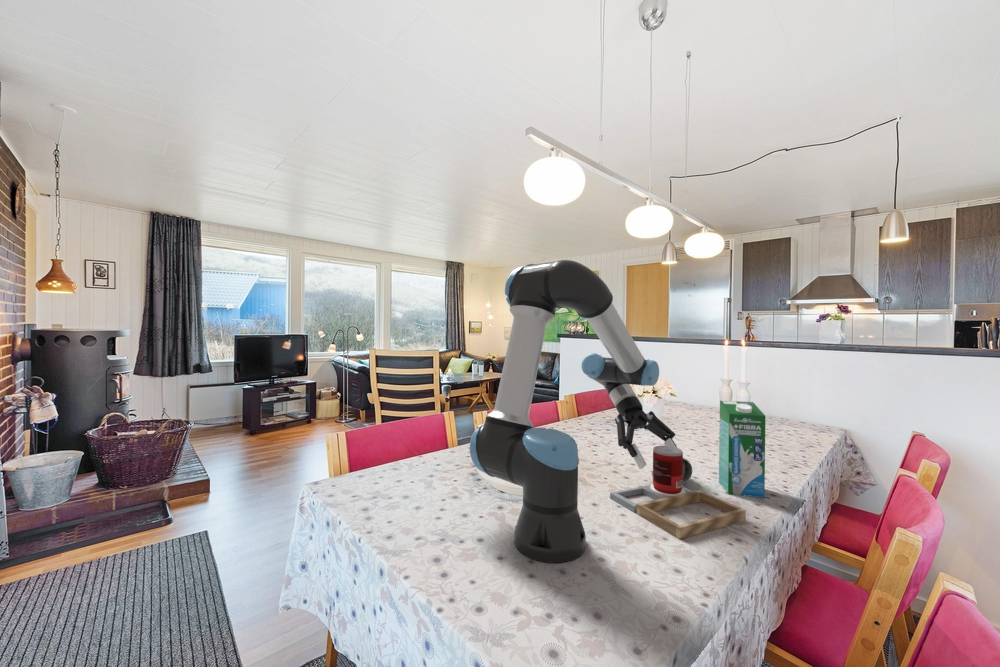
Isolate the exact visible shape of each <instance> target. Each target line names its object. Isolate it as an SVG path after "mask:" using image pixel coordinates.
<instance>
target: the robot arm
mask: <svg viewBox="0 0 1000 667" xmlns="http://www.w3.org/2000/svg"><path fill="white" fill-rule="evenodd" d="M504 295H505V296H506V297H505V299H506V302H507V304H508V305H509V312H510V313H511V315H512V316H513V321H512V325H511V330H510V334H509V339H508V344H507V347H506V352H505V356H504V363H503V367H502V370H501V371H502V372H501V376H500V381H499V385H498V389H497V395H496V398H495V404H494V408H493V410H492V411H490V412H489V413H487V414H485V420H484V423H482V424H479V425H478V426H477V427H476V429H475V430H474V431H473V433H472V435H471V438H470V441H469V454H470V458H471V461H472V463H473V464H474V466H475V467H476V469H477V470H479V471H481V472H482V473H484V474H486V475H487V476H489V477H491V478H497V479H500V480H503V481H505V482H508V483H511V484H514V485H517V486H519V487H522V506H521V510H520V512H519V516H518V518H517V521H516V525H515V527H514V532H513V533H514V534H513V535H514V545H515V547H516V549H517V550H518V551H519V552H520V553H521V554H523V555H524V556H526V557H528V558H530V559H532V560H536V561H539V562H544V563H564V562H565V563H566V562H570V561H573V560H575V559H577V558H579V557H581V556H582V554H584V553H585V551H586V549H587V548H586V547H587V546H586V544H587V543H586V539H587V535H586V532H585V528H584V526H583V522H582V519H581V516H580V512H579V509H578V501H579V499H578V498H579V497H578V494H579V493H578V492H579V491H578V490H579V488H578V487H579V464H580V458H579V449H578V444H577V442H576V439H574V438H573V436H571V435H570V434H568V433H566V432H564V431H561V430H558V429H554V428H546V427H534V424H533V423H532V422H531V419H530V417H529V416H530V412H531V411H530V410H531V407H532V401H533V397H534V396H533V395H534V393H535V392H534V391H535V386H536V382H537V381H536V380H537V376H538V370H539V365H540V361H541V355H542V350H543V345H544V340H545V336H546V330H547V326H548V324H549V323H551V322H552V321H554V319H555V315H556V310H557V309H564V308H567V309H571V310H574V311H575V312H576V314H577V315H578V316H579V317H580V318H582V319H585V320H586V321H587V322H588V324H589V325H590V327H591V329H592V330H593V331H594V333H595V335H596V336H597V337H598V339H599V340H600V342H601V343H602V345H603V347H604V348H605V349H606V351H607V353H608V354H609V355H610V356H611V357H605V356H604V357H603V356H602V354H598V353H595V352H594V353H593V352H591V353H589V354H587V355H586V356H584V358H583V359H582V362H581V370H582V372H583V374H585V375H586V376H587V377H588V378H589V379H591V380H593V381H595V382H597V383H599V384H600V385H602V386H603V387H604V388H605V391H606V393H607V395H608V396H609V398H610V400H611V402H612V403H613V405H614V407H615V409H616V410H617V412H618V415H617V416H616V417H615V418H614V421H615V424H616V430H617V431H616V433H617V445H618V446H619V447H621V448H623V449H624V450H627V451H628V453H629V455H630V457H631V458H633V459H634V461H635V463H636V465H637V467H638V469H639V470H641V469H644V468H645V466H647V462H646V460H645V458H644V456H643V455H642V453H641V451H640V449H639V447H638V446H637V444H636V442H633V441H634V440H633V439H634V435H635V430H638V429H640V430H642V429H644V430H646V431H649V432H651V433H652V434H653V435H654V436H656V437H658V438H660V439H661V440H662V441H663V445H664V446H672V447H676V448H678V446H677V444H676V443H675V442H674V440H673V439H674V437H675V436H676V433H675V432H674V431H673V430H672V429H670V427H668V426H667V425H666V424H665V423H664V422H663V420H662V421H661V420H660V418H658V417H657V416H656V414H655V412H653V411H652V410H651V411H649V412H648V413H646V412H645V411H644V410H643V405H642V402H641V401H640V399H639V398H638V396H637V395H636V393H635V390H634V389H633V388H632V386H631V385H634V386H635V385H636V386H641V387H643V386H644V387H645V386H646V387H648V386H649V387H652V386H655V385H656V384H657V382H658V380H659V377H660V367H659V364H658V362H657V361H655V360H653V359H649V358H648V359H645V357H644V356H643V354H642V353H641V350H640V349H639V347H638V345H637V343H636V342H635V340H634V339H633V337H632V335H631V333H630V332H629V330H628V328H627V327H626V324H625V323H624V321H623V319H622V317H621V315H620V314H619V313H618V311H617V309H616V307H615V305H614V304H613V302H614V296H613V293H612V292H611V290H610V288H609V287H608V285H607V284H606V282H604V280H603V279H602V278H601V277H600V276H599V275H598V274H597V273H596V272H595V271H593V270H592V269H590V268H589V267H588V266H585V265H584V264H582V263H580V262H578V261H575V260H572V259H560V260H556V261H548V262H542V263H529V264H525V265H521V266H519V267H517V268H515V269H513V270H512V271H511V272H510V274H509V275H508V277H507V278H506V282H505V286H504ZM625 424H627V425H625ZM626 426H627V427H626Z"/></svg>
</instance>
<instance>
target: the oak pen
mask: <svg viewBox="0 0 1000 667" xmlns="http://www.w3.org/2000/svg"><path fill="white" fill-rule="evenodd" d="M692 491H693V492H689V493H684V494H680V495H675V496H671V497H666V498H662V499H657V500H654V499H651V500H652V501H650V500H647V501H648V502H646V501H642V502H643V503H641V502H638V503H639V504H637V503H636V504H637V512H636V515H637V516H639V517H641V518H643V519H644V520H646V521H648V522H650V523H651V524H652V525H655V526H657V527H658V528H660V529H661V530H663V531H665V532H666V533H668V534H670V535H671V536H673V537H674V538H677V539H678V540H682V539H686V538H689V537H692V536H696V535H699V534H703V533H706V532H711V531H714V530H717V529H718V530H719V529H720V528H724V527H728V526H732V525H735V524H738V523H741V522H745V521H746V520H747V510H746V509H744V508H742V507H740V506H737V505H734V504H733V503H730V502H728V501H725V500H723V499H721V498H718V497H716V496H714V495H712V494H709V493H707V492H704V491H702V490H700V489H699V490H695V491H694V490H692ZM694 503H702V504H704V503H705V504H704V505H706V504H707V505H706V506H708V507H711V508H713V507H714V508H713V509H715V508H716V509H715V510H717V509H718V511H719V512H722V513H720V514H716V515H712V516H710V517H709V516H708V517H705V518H701V519H698V520H693V521H690V522H685V523H683V524H682V523H681V524H679V523H677V522H675V521H674V520H671V519H669V518H668V517H666V516H664V515H662V514H660V513H658V512H661V511H665V510H668V509H673V508H678V507H682V505H683V506H686V504H687V505H690V504H691V505H692V504H694Z"/></svg>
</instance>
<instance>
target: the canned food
mask: <svg viewBox="0 0 1000 667" xmlns="http://www.w3.org/2000/svg"><path fill="white" fill-rule="evenodd" d="M683 458H684V451H683V450H682V449H681V448H679V447H677V448H676V447H672V446H665V445H657V446H654V447H653V449H652V471H653V477H652V484H653V486H654V488H655V489H656V490H657V491H659V492H662V493H666V494H678V493H680V492H681V491H682V487H683V484H682V478H683Z"/></svg>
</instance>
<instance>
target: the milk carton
mask: <svg viewBox="0 0 1000 667" xmlns="http://www.w3.org/2000/svg"><path fill="white" fill-rule="evenodd" d="M766 419H767V418H766V415H765V413H763V411H762V410H760V408H759V407H758V406H757V404H755V403H754V402H753V401H737V400H735V401H734V400H719V441H718V443H719V446H718V450H719V451H718V452H719V453H718V454H719V455H718V483H719V485H720V486H722V488H723V489H724V490H725V492H726V493H727V494H728V495H735V496H736V495H737V496H744V495H745V496H747V497H755V496H756V497H757V498H765V494H766V493H765V492H766V491H765V490H766V489H765V488H766V486H765V484H766V482H765V480H766V476H765V475H766V472H765V471H766ZM745 496H744V497H745Z"/></svg>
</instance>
